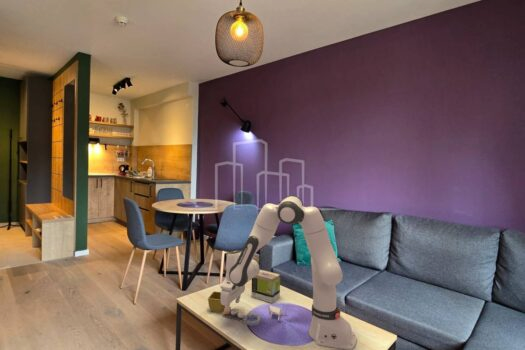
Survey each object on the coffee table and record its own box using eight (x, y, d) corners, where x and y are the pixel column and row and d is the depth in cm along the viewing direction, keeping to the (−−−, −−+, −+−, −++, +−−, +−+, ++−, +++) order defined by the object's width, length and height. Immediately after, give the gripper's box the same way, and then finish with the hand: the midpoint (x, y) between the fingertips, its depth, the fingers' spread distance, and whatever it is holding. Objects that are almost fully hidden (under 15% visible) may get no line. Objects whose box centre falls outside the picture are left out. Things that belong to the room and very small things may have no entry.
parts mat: (246, 317, 160) (246, 315, 160) (240, 323, 154) (240, 321, 154) (228, 312, 165) (228, 310, 165) (221, 318, 158) (221, 316, 158)
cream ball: (246, 316, 158) (246, 309, 158) (242, 320, 155) (242, 313, 155) (239, 315, 160) (239, 307, 160) (235, 318, 156) (236, 311, 156)
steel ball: (239, 315, 160) (239, 307, 160) (235, 318, 157) (235, 311, 156) (232, 313, 162) (232, 306, 162) (229, 316, 158) (229, 309, 158)
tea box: (280, 297, 184) (280, 273, 183) (271, 304, 175) (272, 279, 174) (259, 291, 192) (260, 268, 191) (250, 297, 183) (251, 273, 182)
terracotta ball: (232, 313, 162) (232, 306, 162) (228, 316, 158) (228, 309, 158) (226, 311, 164) (226, 304, 163) (222, 315, 160) (222, 307, 160)
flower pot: (222, 316, 161) (223, 300, 160) (207, 314, 162) (207, 298, 162) (227, 308, 169) (228, 292, 169) (213, 306, 171) (213, 291, 170)
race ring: (262, 320, 157) (262, 316, 157) (255, 328, 149) (255, 324, 149) (248, 316, 161) (248, 312, 160) (240, 324, 153) (240, 320, 153)
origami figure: (288, 319, 159) (288, 310, 159) (277, 324, 153) (277, 315, 153) (272, 310, 168) (272, 302, 168) (261, 315, 162) (261, 306, 162)
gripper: (238, 273, 169) (237, 297, 169) (218, 286, 150) (217, 313, 151) (248, 275, 166) (247, 299, 167) (229, 289, 147) (228, 316, 148)
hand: (233, 306), depth 159 cm, fingers open, 8 cm apart
